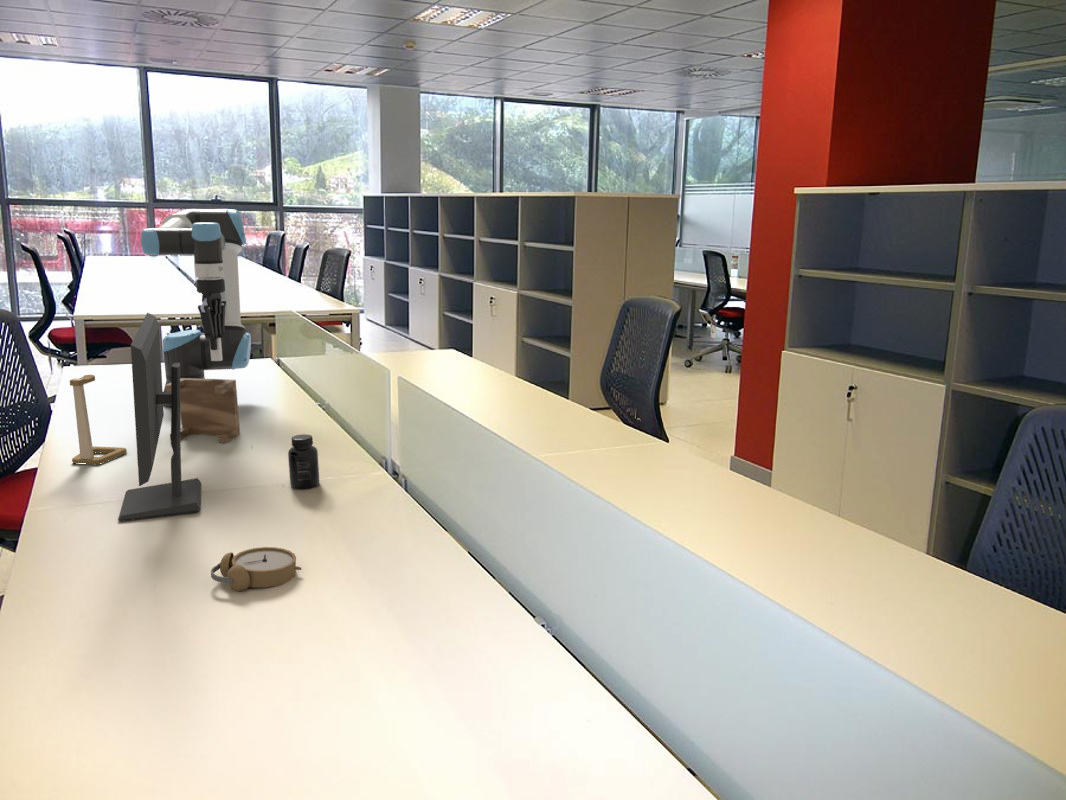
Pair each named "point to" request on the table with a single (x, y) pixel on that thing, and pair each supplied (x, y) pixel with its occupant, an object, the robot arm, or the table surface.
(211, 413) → the stool
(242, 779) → the table surface
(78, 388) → the headphone stand
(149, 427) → the computer monitor
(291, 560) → the alarm clock
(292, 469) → the supplement bottle
